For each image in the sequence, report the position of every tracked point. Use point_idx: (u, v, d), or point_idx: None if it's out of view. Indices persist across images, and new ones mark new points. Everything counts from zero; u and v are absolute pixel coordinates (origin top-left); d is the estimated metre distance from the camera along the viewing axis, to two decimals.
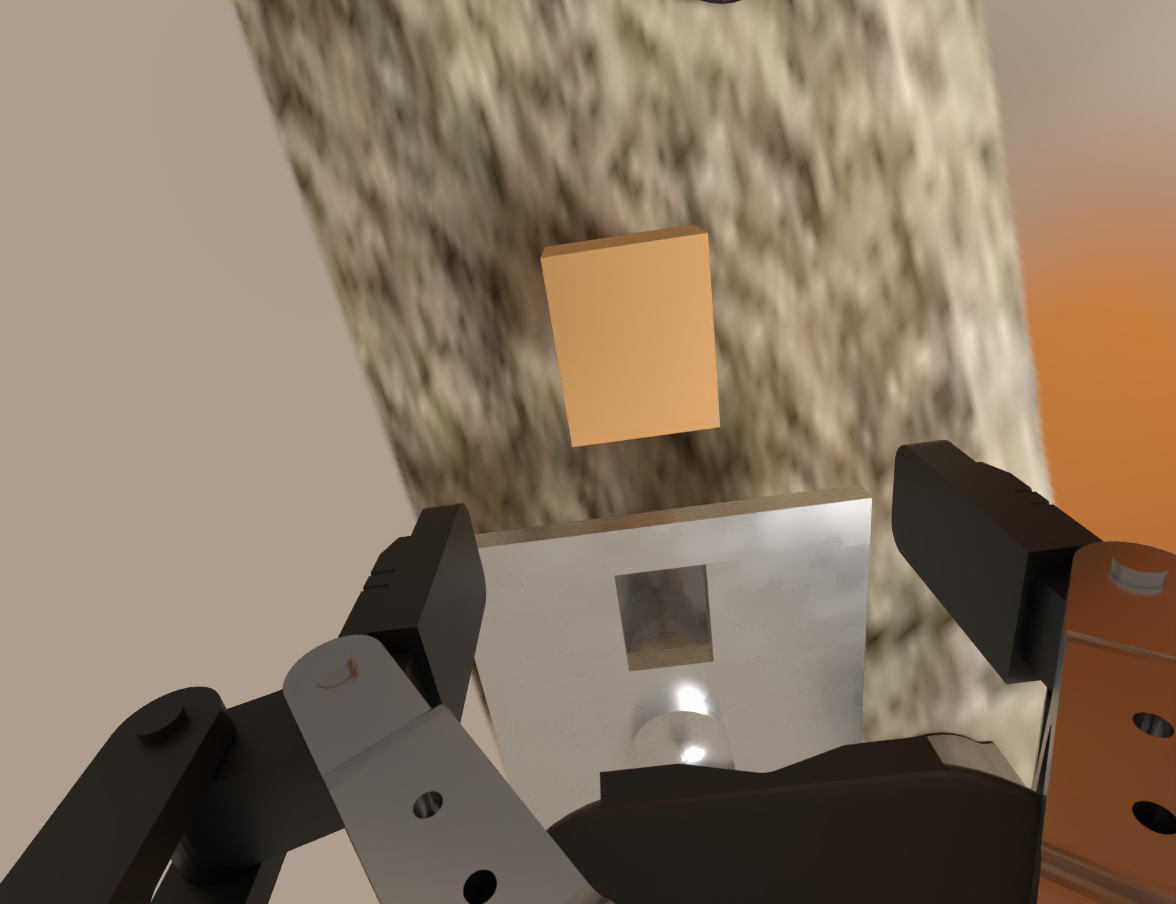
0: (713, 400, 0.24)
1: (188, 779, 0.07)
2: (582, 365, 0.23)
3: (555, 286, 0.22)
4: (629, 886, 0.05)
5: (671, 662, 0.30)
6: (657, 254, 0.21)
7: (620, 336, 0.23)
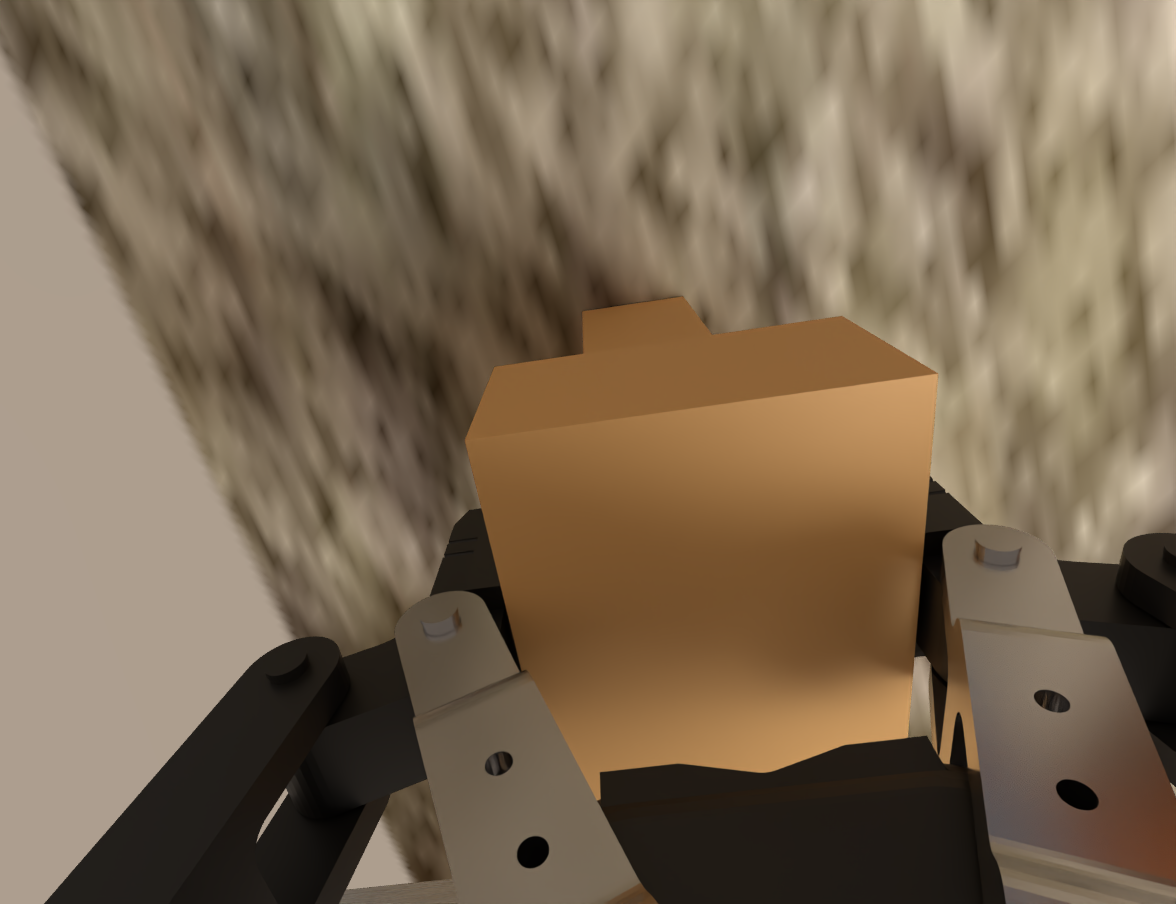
0: None
1: (301, 724, 0.07)
2: (583, 677, 0.09)
3: (508, 508, 0.08)
4: None
5: None
6: (790, 429, 0.08)
7: (678, 616, 0.09)
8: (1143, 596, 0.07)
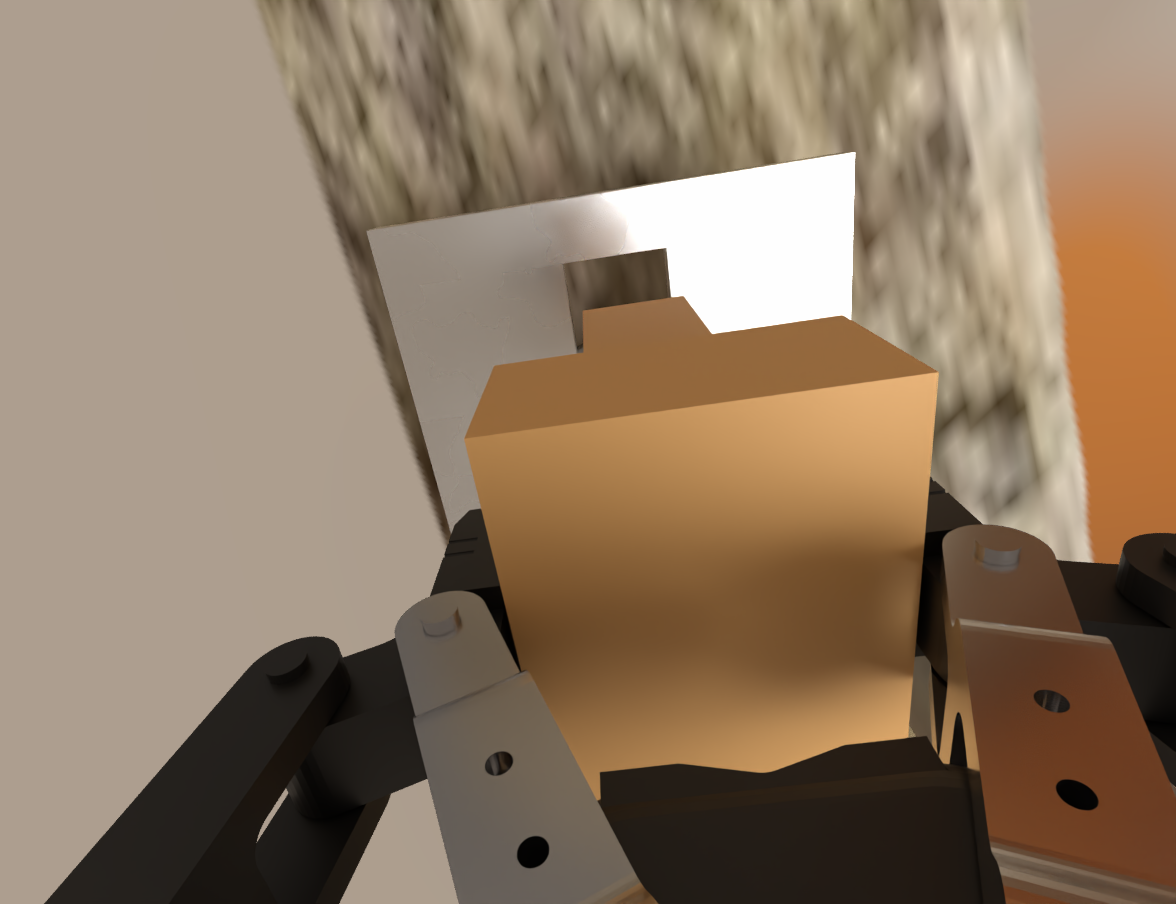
0: None
1: (301, 724, 0.07)
2: (582, 675, 0.09)
3: (507, 507, 0.08)
4: None
5: None
6: (790, 428, 0.08)
7: (678, 615, 0.09)
8: (1143, 596, 0.07)
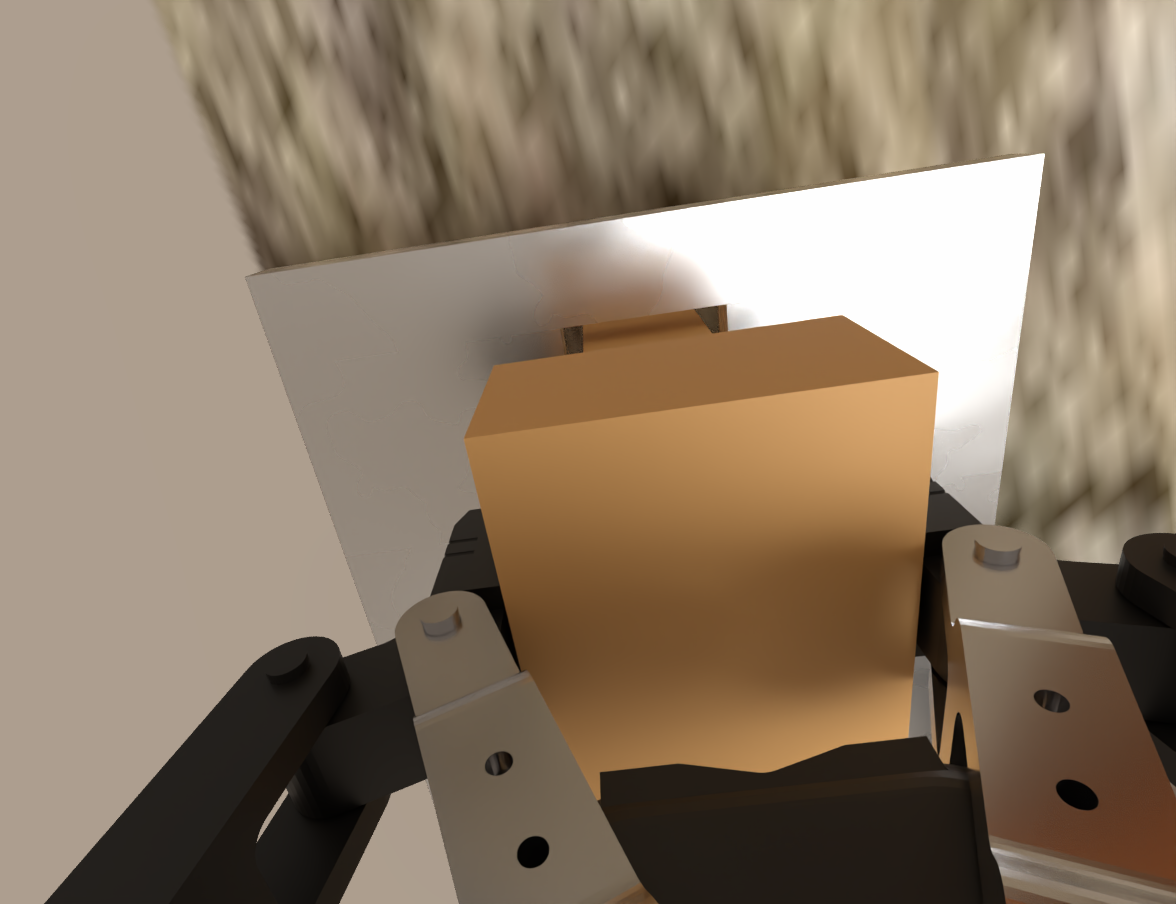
0: None
1: (302, 724, 0.07)
2: (582, 676, 0.09)
3: (507, 506, 0.08)
4: None
5: None
6: (790, 428, 0.08)
7: (678, 615, 0.09)
8: (1143, 596, 0.07)
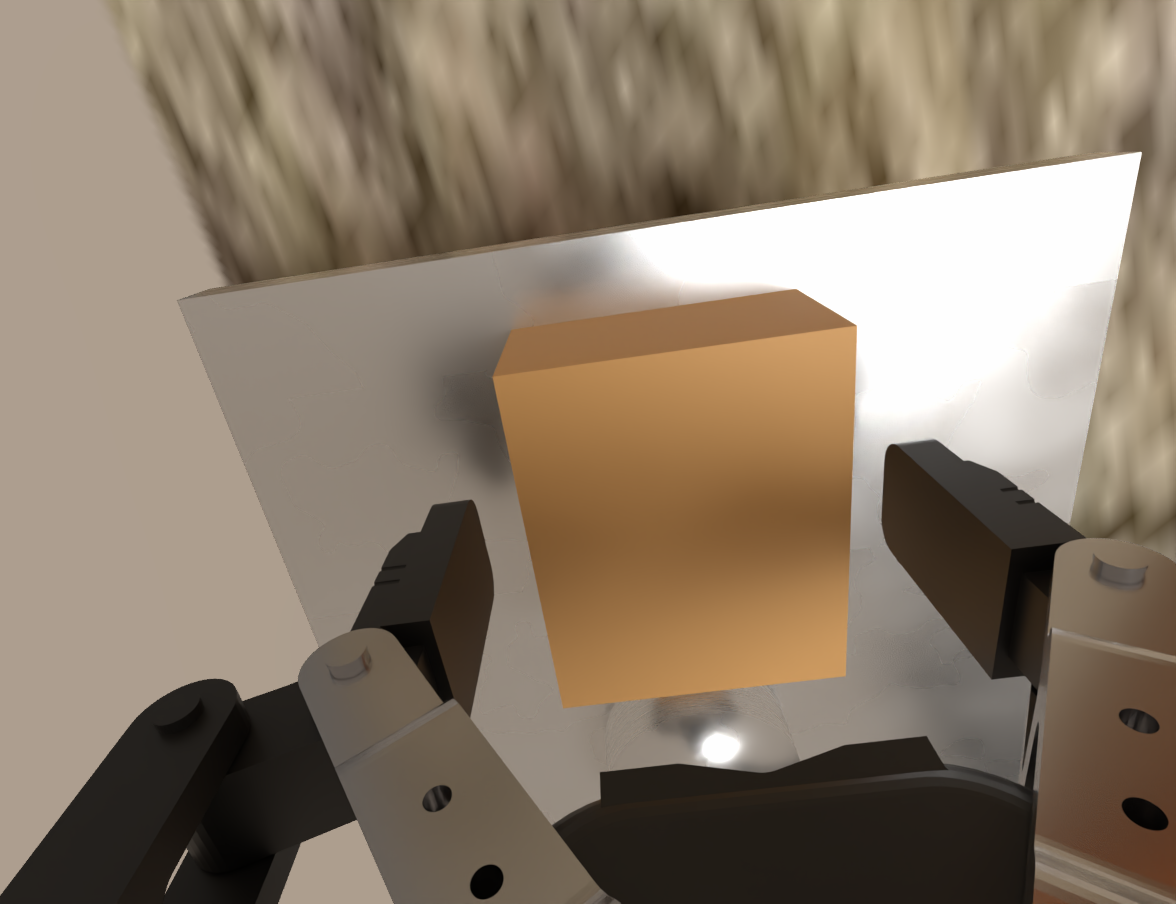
0: (837, 633, 0.12)
1: (203, 770, 0.07)
2: (582, 576, 0.12)
3: (525, 432, 0.10)
4: (629, 886, 0.05)
5: None
6: (744, 369, 0.10)
7: (659, 523, 0.11)
8: None
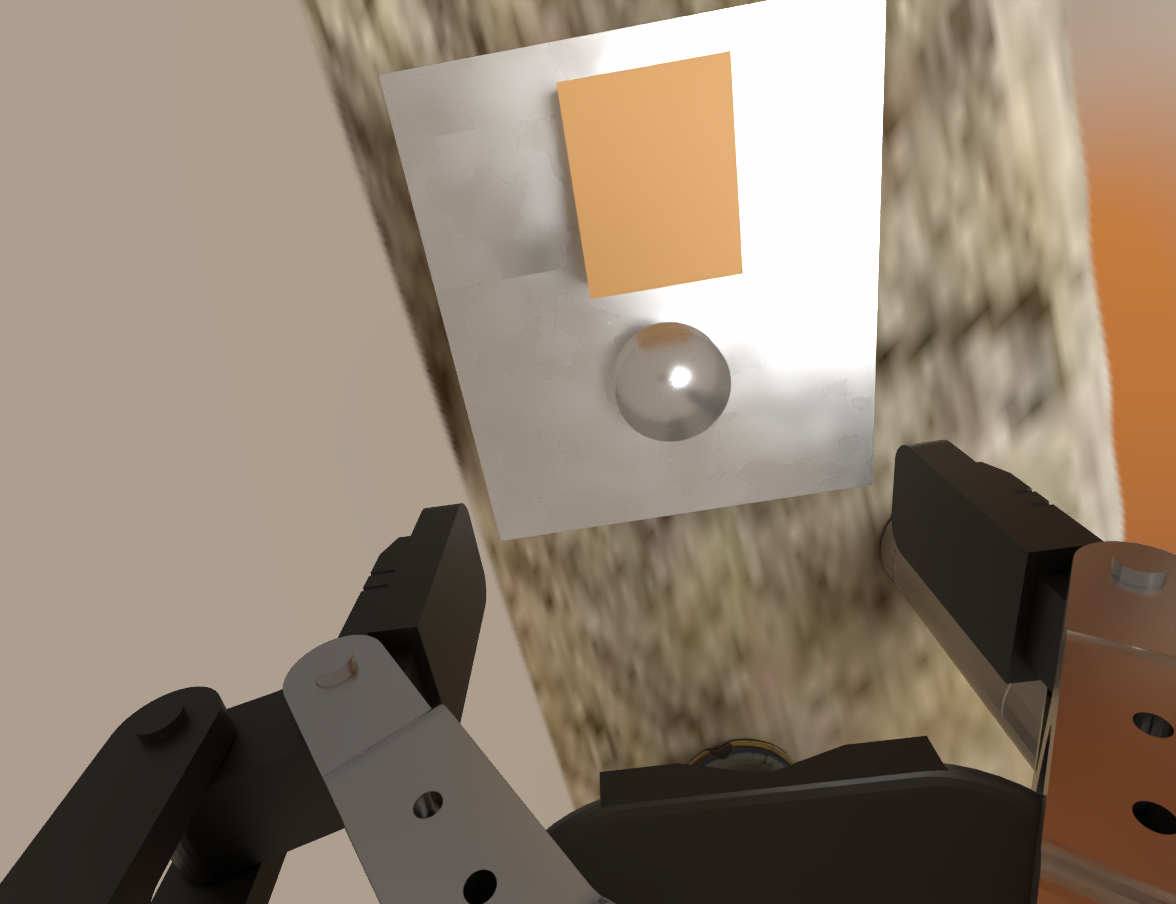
0: (736, 243, 0.23)
1: (187, 779, 0.07)
2: (600, 206, 0.22)
3: (572, 115, 0.21)
4: (629, 886, 0.05)
5: None
6: (678, 76, 0.21)
7: (639, 171, 0.22)
8: None
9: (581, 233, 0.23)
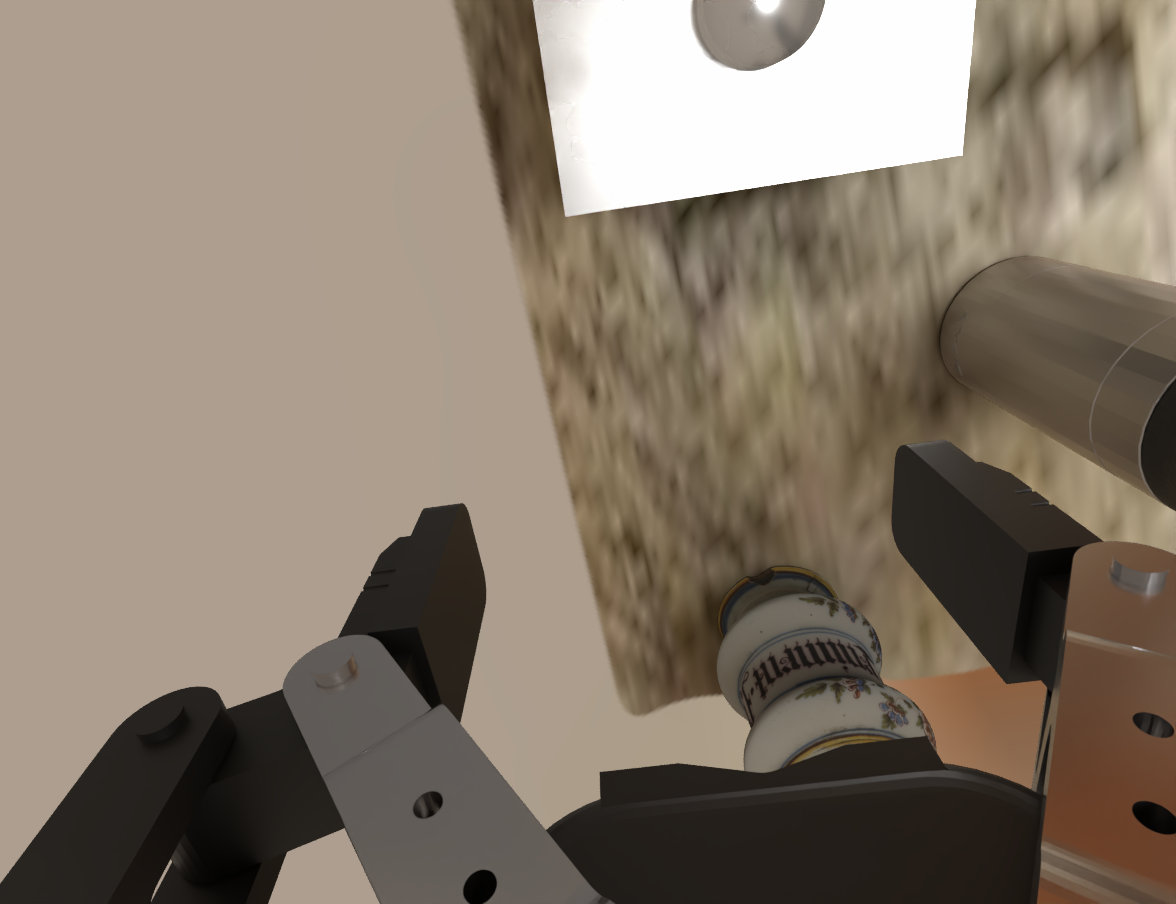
0: None
1: (187, 779, 0.07)
2: None
3: None
4: (629, 886, 0.05)
5: None
6: None
7: None
8: None
9: None
